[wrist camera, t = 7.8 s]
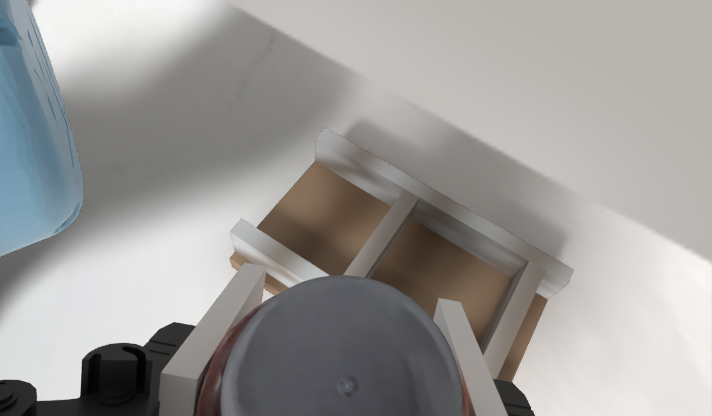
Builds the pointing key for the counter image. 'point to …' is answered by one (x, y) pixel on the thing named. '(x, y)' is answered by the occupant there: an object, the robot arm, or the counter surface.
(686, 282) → the counter surface
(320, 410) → the supplement bottle
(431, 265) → the wooden divided tray
